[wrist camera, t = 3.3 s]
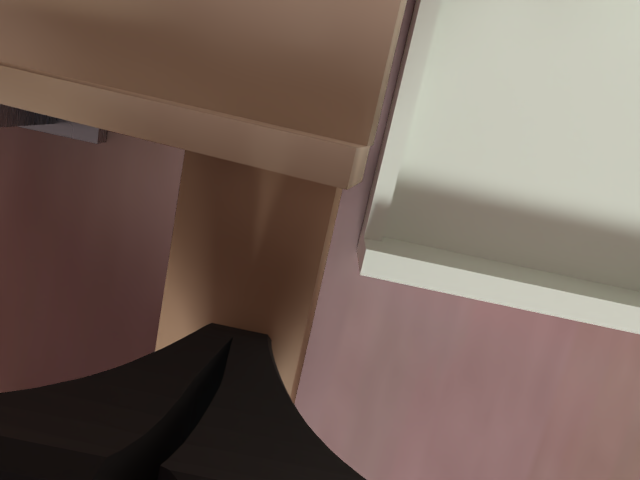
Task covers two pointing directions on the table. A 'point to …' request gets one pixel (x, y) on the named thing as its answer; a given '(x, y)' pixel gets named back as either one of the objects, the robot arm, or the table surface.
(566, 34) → the dish
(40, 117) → the pivot
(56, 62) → the lever
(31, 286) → the table surface
